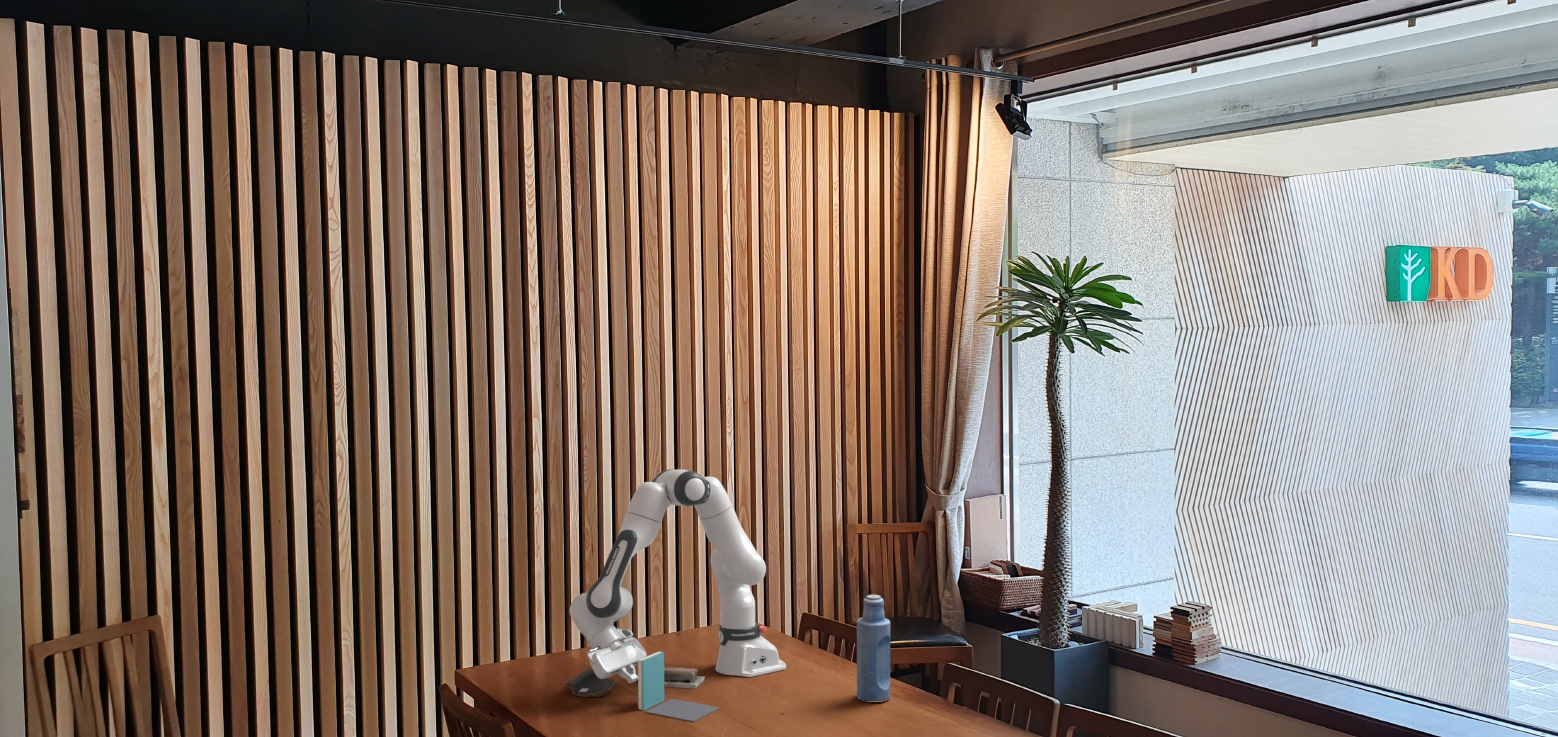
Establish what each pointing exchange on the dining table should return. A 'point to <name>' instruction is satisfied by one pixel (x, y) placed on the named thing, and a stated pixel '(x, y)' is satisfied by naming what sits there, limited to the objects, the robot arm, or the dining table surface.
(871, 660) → the bottle
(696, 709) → the mat
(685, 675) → the packaged product
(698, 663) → the dining table surface
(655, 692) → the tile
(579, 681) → the pottery fragment
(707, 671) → the dining table surface
